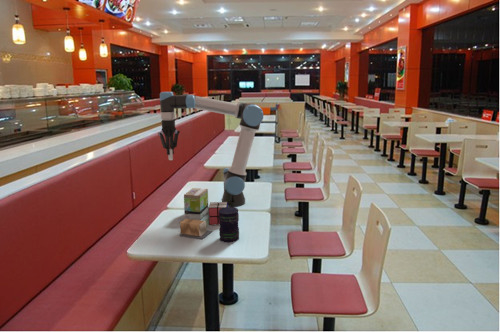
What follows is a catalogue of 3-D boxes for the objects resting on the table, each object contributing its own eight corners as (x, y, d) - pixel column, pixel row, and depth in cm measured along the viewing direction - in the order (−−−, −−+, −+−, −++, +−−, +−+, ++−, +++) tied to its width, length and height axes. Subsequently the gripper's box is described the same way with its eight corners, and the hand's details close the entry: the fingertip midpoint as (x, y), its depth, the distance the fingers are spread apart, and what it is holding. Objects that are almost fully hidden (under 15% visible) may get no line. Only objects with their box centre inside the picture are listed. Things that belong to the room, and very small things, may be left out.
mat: (179, 236, 202) (179, 235, 202) (190, 228, 212) (190, 227, 212) (202, 239, 197) (202, 238, 197) (212, 231, 207) (212, 230, 207)
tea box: (201, 220, 224) (199, 195, 220) (184, 219, 226) (182, 194, 222) (209, 211, 238) (207, 188, 235) (193, 210, 240) (191, 187, 237)
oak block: (179, 222, 203) (200, 225, 199) (185, 218, 209) (206, 221, 204) (180, 233, 204) (201, 236, 200) (186, 229, 210) (206, 232, 205)
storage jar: (215, 239, 197) (214, 210, 194) (229, 233, 204) (228, 205, 201) (229, 244, 191) (228, 215, 187) (243, 238, 198) (242, 209, 195)
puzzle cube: (227, 224, 216) (226, 207, 214) (209, 225, 216) (208, 207, 214) (228, 218, 226) (227, 201, 224) (210, 218, 226) (210, 202, 224)
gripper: (175, 118, 232) (177, 157, 237) (154, 119, 224) (157, 160, 229) (181, 118, 226) (183, 159, 231) (160, 120, 218) (163, 162, 223)
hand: (170, 160), depth 230 cm, fingers closed
